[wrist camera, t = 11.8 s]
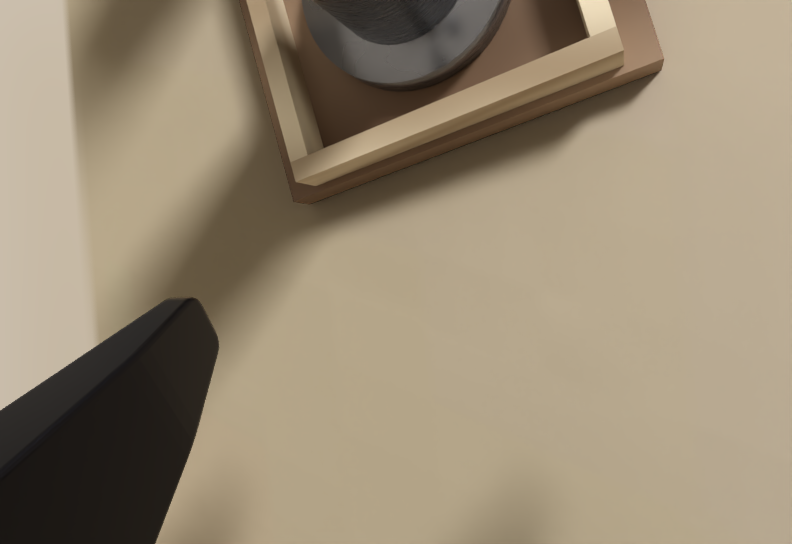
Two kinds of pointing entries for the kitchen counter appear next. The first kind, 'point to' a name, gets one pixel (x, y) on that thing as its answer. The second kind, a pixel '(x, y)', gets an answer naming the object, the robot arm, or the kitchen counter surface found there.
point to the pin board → (437, 87)
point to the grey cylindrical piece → (403, 37)
